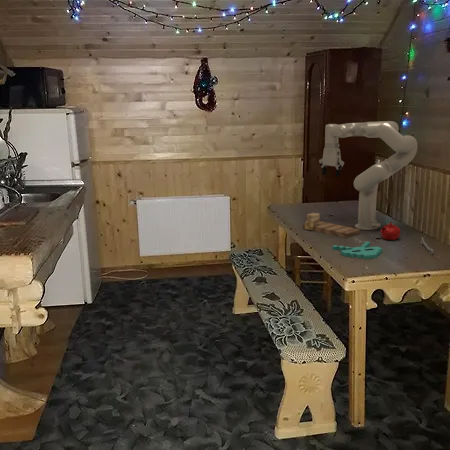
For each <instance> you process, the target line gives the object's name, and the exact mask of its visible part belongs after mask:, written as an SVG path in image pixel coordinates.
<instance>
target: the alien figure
mask: <svg viewBox="0 0 450 450" xmlns="http://www.w3.org/2000/svg"><path fill="white" fill-rule="evenodd" d="M331 249H332V250H333V251H340V255H341V256H343V257H345V258H346V256H347V257H350V258H351V257H352V258H356V257H357V259H363V258H364V260H370V259H371V258H372V259H377V257H380V255H381V254H382V253H383V251H384V249H383V248H382V247H379V246H378V245H376V246H371V242H370V241H364V243H362V244H361V245H360V246H355V247H350V246H344V245H336V244H334V245H332V246H331Z"/></svg>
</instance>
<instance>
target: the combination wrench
mask: <svg viewBox="0 0 450 450" xmlns="http://www.w3.org/2000/svg"><path fill="white" fill-rule="evenodd" d="M424 239H425V238H424V237H421V241H420V244H421V245H422V244H423V246H424V247H425V250H427V251H428V253H429V254H430V253H431V254H434V249H433V248H431V247H430V246H429V245H428V244H427V243H426V242H425V240H424ZM431 254H430V255H431Z"/></svg>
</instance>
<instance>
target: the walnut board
mask: <svg viewBox="0 0 450 450" xmlns="http://www.w3.org/2000/svg"><path fill="white" fill-rule="evenodd" d="M302 229H303V230H304V229H305V223H303V224H302ZM305 230H306V229H305ZM311 231H312V232H317V233H322V234H325V235H329V236H335V237H339V238H344V239H348V238H351V237H355V236H357V235H360V231H361V229H358V228H356V227H355V228H354V227H350V226H345V225H340V224H335V223H329V222H325V221H320V220H319V224H318V225H315V226H314V230H311Z"/></svg>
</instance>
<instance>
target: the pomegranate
mask: <svg viewBox="0 0 450 450" xmlns="http://www.w3.org/2000/svg"><path fill="white" fill-rule="evenodd" d="M380 234H381V238H382V239H384V240H386V241H395V240H398V239H399V238H400V236H401V229H400V227H399V226H398V224H397V223H393V221H390V222H389V223H387V224H384V225H383V227H382V228H381V229H380Z"/></svg>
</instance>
